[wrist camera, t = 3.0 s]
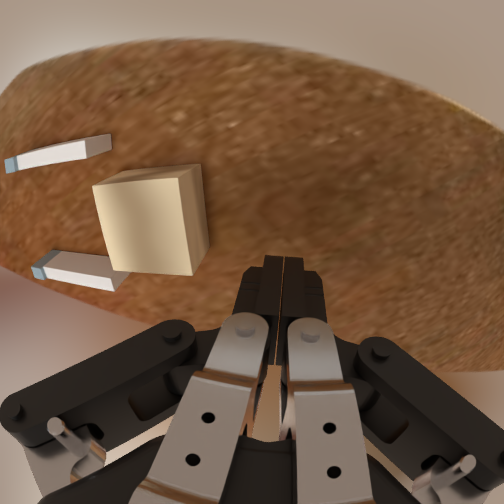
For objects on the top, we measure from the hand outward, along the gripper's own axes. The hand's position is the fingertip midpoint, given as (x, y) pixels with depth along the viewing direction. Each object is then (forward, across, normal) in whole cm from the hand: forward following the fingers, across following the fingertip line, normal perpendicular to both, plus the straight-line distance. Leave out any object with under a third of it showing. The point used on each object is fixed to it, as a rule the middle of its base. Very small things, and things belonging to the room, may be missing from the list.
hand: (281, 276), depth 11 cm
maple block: (+8, +8, 0) cm, 12 cm away
